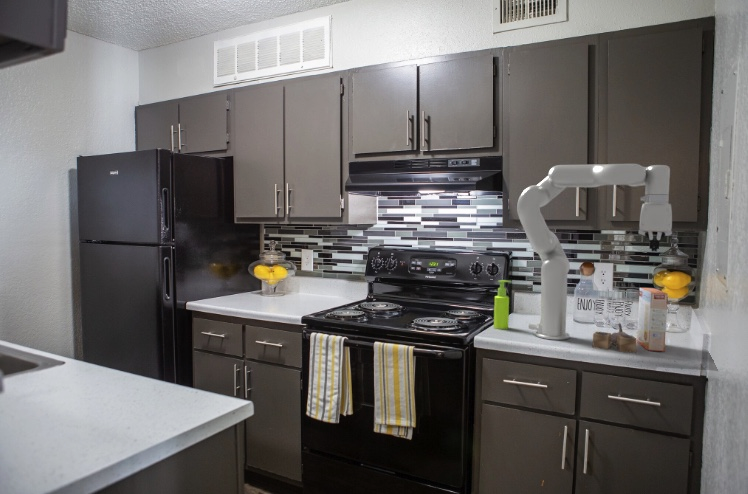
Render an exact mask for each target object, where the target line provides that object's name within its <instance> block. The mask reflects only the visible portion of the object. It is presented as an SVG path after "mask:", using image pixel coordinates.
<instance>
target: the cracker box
mask: <svg viewBox="0 0 748 494" xmlns="http://www.w3.org/2000/svg"><path fill="white" fill-rule="evenodd" d="M668 297H669V293H668V292H666V291H661V290H660V289H658V288H654V287H639V295H638V311H637V332H636V343H638V344H639V345H640V346H642V347H643V348H644V349H646V350H647V351H651V352H665V349H666V348H665V346H666V334H667V333H666V329H667V328H666V327H667V314H668V300H669V298H668Z"/></svg>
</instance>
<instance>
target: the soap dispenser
mask: <svg viewBox="0 0 748 494" xmlns="http://www.w3.org/2000/svg"><path fill="white" fill-rule="evenodd" d="M497 282H498V283H500V284H499V287H498V288H497V295H495V296H494V304H493V305H494V307H493V309H494V310H493V329H496V330H508V329H509V318H510V317H509V314H510V312H509V311H510V310H509V309H510V306H509V305H510V297H509V296H508V295H507V288H506V287H505V283H511V284H512V283H513V281H511V280H507V279H500V280H498V281H497Z"/></svg>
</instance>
